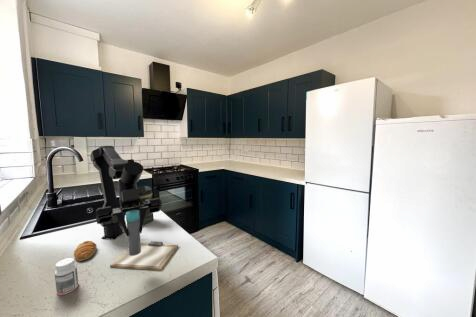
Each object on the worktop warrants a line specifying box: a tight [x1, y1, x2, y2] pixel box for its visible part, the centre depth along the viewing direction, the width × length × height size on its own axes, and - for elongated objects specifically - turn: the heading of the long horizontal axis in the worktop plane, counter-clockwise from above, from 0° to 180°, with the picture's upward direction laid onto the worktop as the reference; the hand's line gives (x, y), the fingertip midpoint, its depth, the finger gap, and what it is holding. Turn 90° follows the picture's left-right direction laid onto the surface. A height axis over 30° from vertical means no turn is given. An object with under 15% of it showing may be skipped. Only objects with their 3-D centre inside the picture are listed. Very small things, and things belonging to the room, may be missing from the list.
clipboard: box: [109, 240, 179, 272], centre depth 71 cm, size 18×14×2 cm
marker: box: [125, 210, 142, 256], centre depth 61 cm, size 4×4×14 cm
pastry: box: [73, 240, 97, 262], centre depth 72 cm, size 9×7×4 cm
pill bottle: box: [54, 257, 79, 296], centre depth 55 cm, size 5×5×8 cm
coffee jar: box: [137, 185, 155, 225], centre depth 100 cm, size 10×8×19 cm
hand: (134, 234), depth 60 cm, fingers closed on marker, 3 cm apart
